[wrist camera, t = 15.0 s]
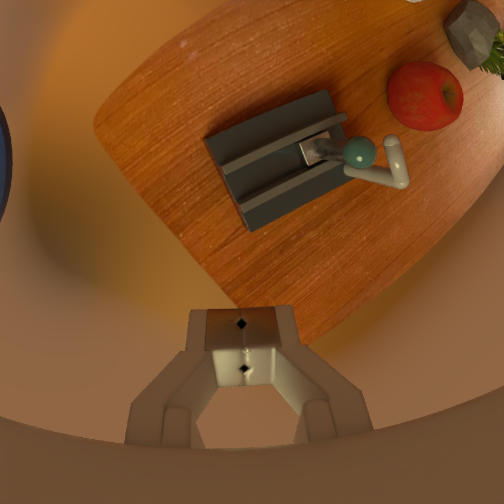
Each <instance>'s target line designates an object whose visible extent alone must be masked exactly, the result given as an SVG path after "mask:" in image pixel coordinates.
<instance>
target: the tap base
mask: <svg viewBox="0 0 504 504" xmlns="http://www.w3.org/2000/svg"><path fill="white" fill-rule="evenodd" d="M345 120H348V118H347V115H346V113H345V112H339V113H337V112H336V110H335V107H334V105H333V102H332V99H331V97H330V95H329V92H328V90H327V89H325V90H321V91H317V92H314V93H311V94H308V95H306V96H303V97H300V98H298V99H295V100H292V101H290V102H287V103H285V104H282V105H280V106H277V107H275V108H272V109H270V110H267V111H265V112H262V113H260V114H258V115H255V116H253V117H251V118H248V119H246V120H244V121H242V122H239V123H237V124H235V125H233V126H230V127H228V128H226V129H224V130H222V131H220V132H218V133H215V134H213V135H211V136H209V137H207V138H205V139H203V143H204V145H205V147H206V149H207V151H208V153H209V155H210V157H211V159H212V161H213V163H214V165H215V167H216V169H217V171H218V173H219V175H220V177H221V180H222V182H223V184H224V186H225V188H226V190H227V192H228V194H229V196H230V198H231V200H232V202H233V204H234V206H235V208H236V210H237V213H238V215H239V217H240V219H241V221H242V223H243V225H244V227H245V228H246V229H247V230H248V231H249V232H250V233H252V232H253V231H255V230H257V229H259V228H261V227H263V226H265V225H267V224H268V223H270V222H272V221H274V220H276V219H278V218H280V217H282V216H283V215H285V214H287V213H289V212H291V211H293V210H295V209H297V208H299V207H301V206H302V205H304V204H306V203H308V202H310V201H312V200H314V199H316V198H318V197H320V196H321V195H323V194H325V193H327V192H329V191H331V190H333V189H335V188H337V187H339V186H341V185H343V184H345V183H346V182H348V181H350V180H352V179H354V178H358V179H362V180H366V181H370V182H374V183H378V184H382V185H385V186H389V187H393V188H397V189H404V188H406V187H408V185H409V184H410V177H409V173H408V169H407V165H406V161H405V157H404V153H403V149H402V146H401V142H400V139H399V138H398V137H397V136H396V135H394V134H388V135H386V136H385V137H384V139H383V146H384V149H385V153H386V156H387V160H388V163H389V167H390V168H388V167H383V166H378V165H372V166H371V167H369V168H367V169H363V170H359V169H355V168H353V167H351V166H350V165H349V164H348V163H343V162H337V161H331V160H324V159H323V160H321V161H318V162H316V163H314V164H312V165H310V166H305V165H302V162H301V160H300V157H299V155H298V152H297V150H296V147H295V145H294V143H295V142H297V141H299V140H302V139H304V138H306V137H308V136H311V135H313V134H315V133H318V132H320V131H328V133H329V135H330V138H338V139H346V136H345V134H344V131H343V128H342V125H341V123H340V122H343V121H345Z"/></svg>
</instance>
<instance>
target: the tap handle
mask: <svg viewBox="0 0 504 504" xmlns="http://www.w3.org/2000/svg"><path fill="white" fill-rule="evenodd" d="M294 145H295V147H296V150H297V152H298V155H299V157H300V160H301V162H302V165H305V166H310V165H312V164H314V163H316V162H318V161H321V160H323V159H324V160H331V161H337V162H343V163H348V164H349V165H350V166H351V167H353V168H355V169H359V170H363V169H367V168H369V167H371V166H372V165H373V164H374V162H375V161H376V158H377V149H376V146H375V144H374V143H373V141H372V140H371V139H369V138H368V137H365V136H362V135H356V136H353V137H351V138H349V139H338V138H330V135H329V133H328V131H320V132H318V133H315V134H313V135H311V136H308V137H306V138H304V139H302V140H299V141H297V142H295V143H294Z"/></svg>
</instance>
